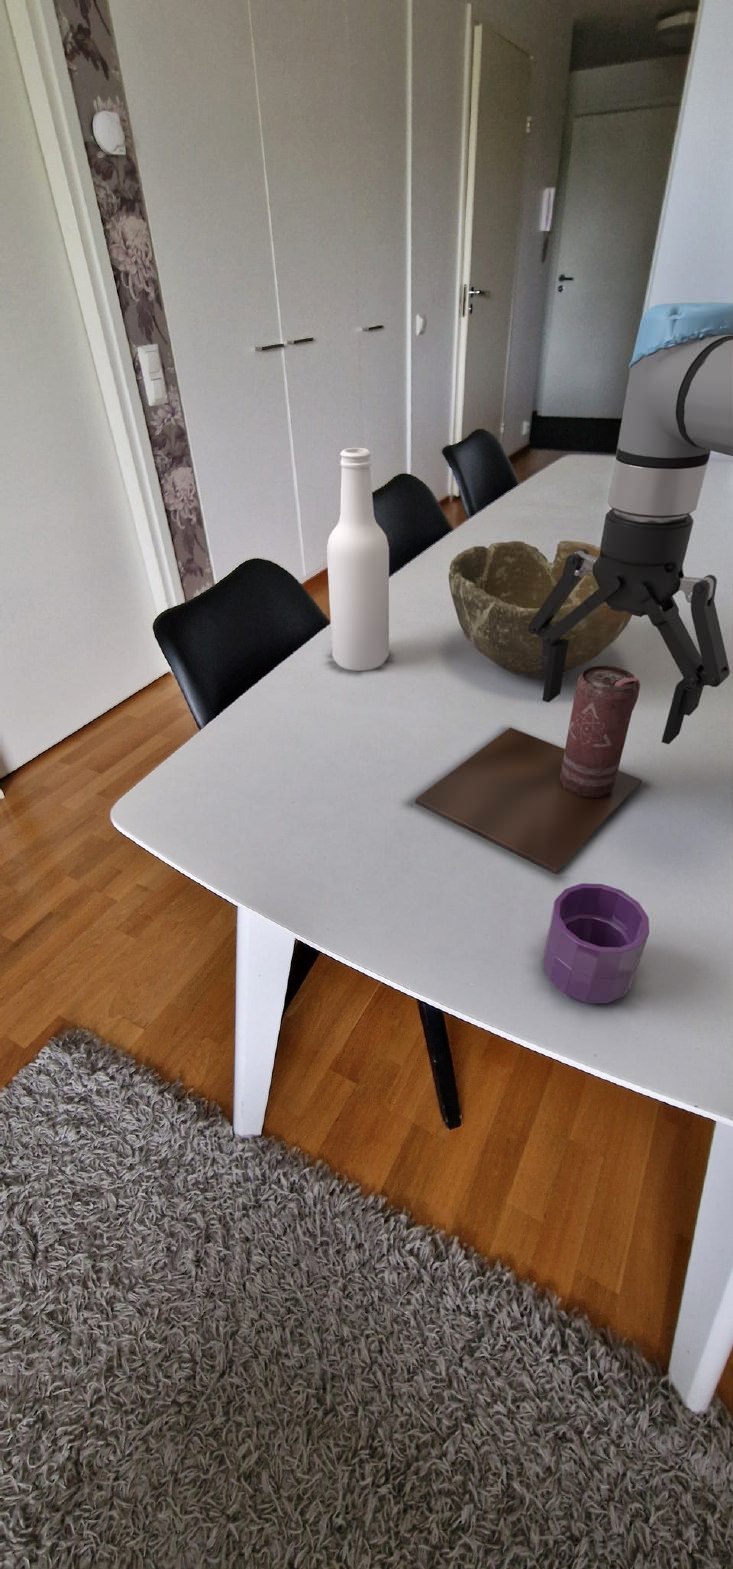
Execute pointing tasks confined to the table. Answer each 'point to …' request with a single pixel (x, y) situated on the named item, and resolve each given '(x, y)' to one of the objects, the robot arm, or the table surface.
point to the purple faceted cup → (595, 942)
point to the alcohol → (358, 571)
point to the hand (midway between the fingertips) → (607, 716)
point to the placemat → (523, 800)
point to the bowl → (526, 605)
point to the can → (598, 730)
